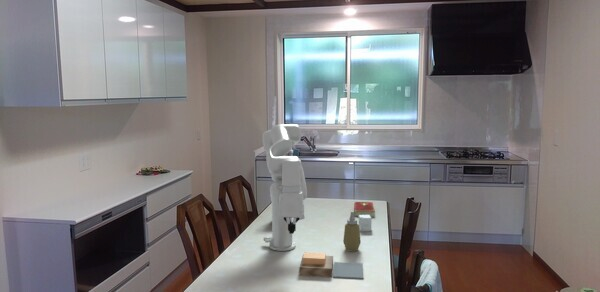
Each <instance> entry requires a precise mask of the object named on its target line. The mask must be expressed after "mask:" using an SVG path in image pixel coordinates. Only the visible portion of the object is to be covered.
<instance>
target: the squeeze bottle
mask: <svg viewBox="0 0 600 292" xmlns="http://www.w3.org/2000/svg"><path fill="white" fill-rule="evenodd" d="M349 215H350V216H349V218H348V219H347V220H346V223H345V225H344V233H343V245H344V249H345V250H346V251H347V252H356V251H358V250H359V248H360V245H361V242H362V241H361V240H362V239H361V231H360V229H359V223H358V219H357V218H356V216H354V211H350V214H349Z"/></svg>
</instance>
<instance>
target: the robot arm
mask: <svg viewBox="0 0 600 292" xmlns="http://www.w3.org/2000/svg"><path fill="white" fill-rule="evenodd" d="M301 139H302V129H301V127H300V125H298V124H297V123H296V124H294V123H289V124H288V123H287V124H285V123H284V124H282V123H280V124H275V125H273V126H272V127H271V128H270V129H269V130H266V131H264V132H263V134H262V146H263V148H264V151H265V154H266V157H265V159H266V166H267V170H268V171H269V174H270V176H271V179H272V181H273V183H271V185H270V187H269V193H270V194H269V195H270V200H271V201H270V202H271V214H272V215H271V219H272V221H271V222H272V223H271V224H272V225H271V229H272V233H271V234H272V235H271V236H270V237H269V236H263V241H264V242H265V243H269V245H268V246H269V249H270V250H272V251H273V250H274V251H277V252H287V251H291V250H293V249H295V248H296V245H297V244H296V242H295V241H293V235H294V232H296V229H297V227H296V223H298V222H299V221H301V220H305V200H306V199H307V197H308V187H307V183H306V177H305V172H304V168H303V165H302V161H301V159H300V158H299V157H298V156H297V155H287V154H288V153H290V152H291V150H292V149H293V147H294V146H296V145H297V144H299V142H300V140H301Z"/></svg>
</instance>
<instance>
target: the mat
mask: <svg viewBox="0 0 600 292" xmlns="http://www.w3.org/2000/svg"><path fill="white" fill-rule="evenodd" d="M332 278H333V279H355V280H364V279H365V278H364V266H363V263H362V262H345V261H343V262H342V261H341V262H340V261H333V270H332Z"/></svg>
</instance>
